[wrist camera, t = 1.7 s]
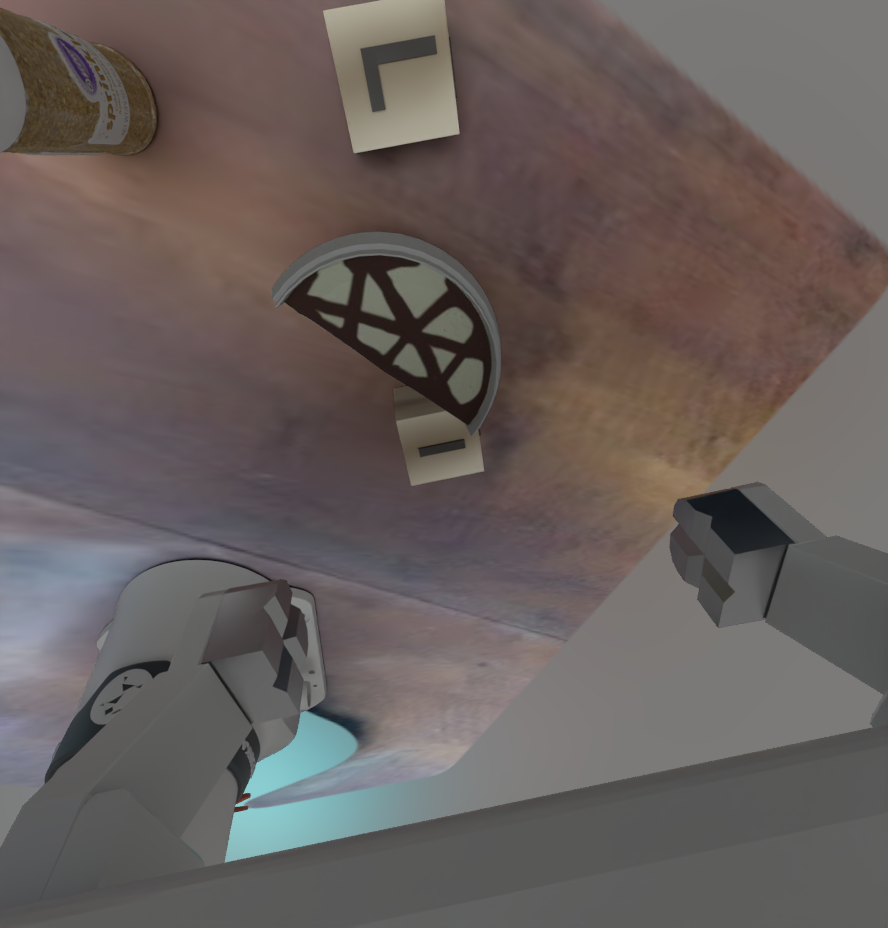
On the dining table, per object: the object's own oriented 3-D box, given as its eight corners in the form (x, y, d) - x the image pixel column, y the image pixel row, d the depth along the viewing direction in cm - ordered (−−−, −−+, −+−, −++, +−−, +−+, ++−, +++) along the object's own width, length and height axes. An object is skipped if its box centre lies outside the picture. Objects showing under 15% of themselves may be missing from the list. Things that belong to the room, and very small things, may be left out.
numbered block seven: (449, 135, 27) (464, 132, 23) (356, 152, 27) (353, 153, 23) (434, 16, 25) (448, -13, 20) (331, 34, 24) (322, 9, 20)
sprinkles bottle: (179, 117, 25) (25, 89, 14) (118, 175, 26) (-71, 193, 15) (98, 17, 23) (-164, -111, 12) (35, 85, 24) (-263, 27, 13)
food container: (512, 299, 32) (561, 351, 24) (453, 372, 35) (479, 442, 26) (351, 162, 27) (342, 167, 19) (294, 257, 29) (263, 299, 21)
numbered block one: (474, 434, 38) (487, 472, 33) (406, 448, 37) (411, 487, 33) (465, 374, 35) (478, 405, 30) (392, 388, 35) (395, 422, 30)
